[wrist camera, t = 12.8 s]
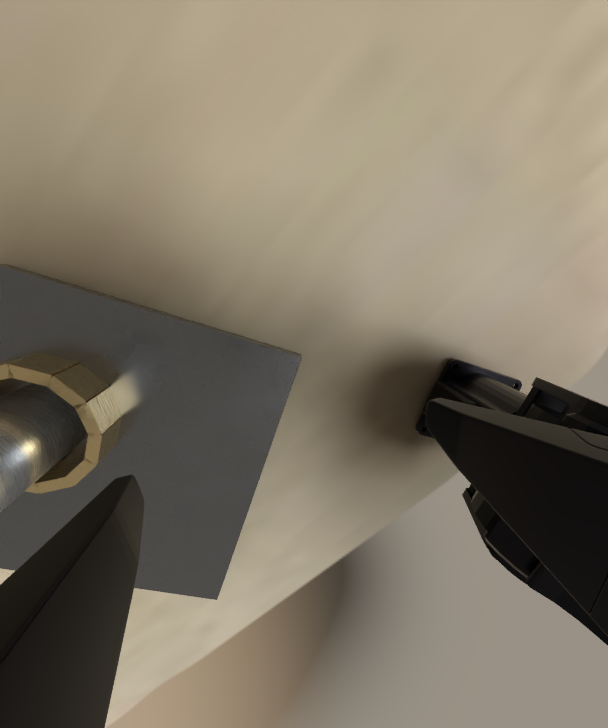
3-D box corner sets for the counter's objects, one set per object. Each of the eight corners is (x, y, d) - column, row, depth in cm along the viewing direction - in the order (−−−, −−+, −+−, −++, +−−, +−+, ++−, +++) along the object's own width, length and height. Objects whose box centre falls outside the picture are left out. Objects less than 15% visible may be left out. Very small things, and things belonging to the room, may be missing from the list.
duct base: (300, 354, 21) (304, 368, 18) (218, 590, 28) (211, 631, 25) (1, 262, 18) (-56, 261, 15) (-16, 555, 24) (-59, 597, 21)
